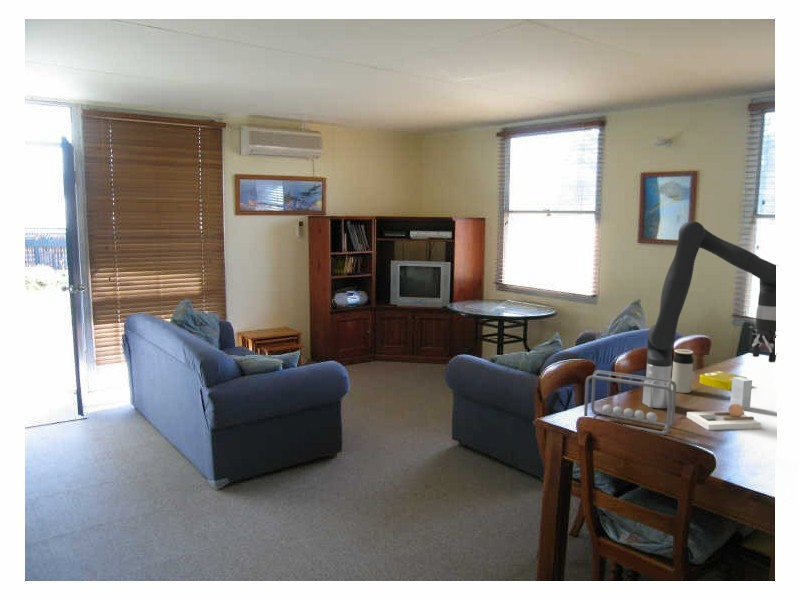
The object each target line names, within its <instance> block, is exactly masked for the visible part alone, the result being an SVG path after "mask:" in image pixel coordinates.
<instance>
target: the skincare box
mask: <svg viewBox="0 0 800 600" xmlns="http://www.w3.org/2000/svg"><path fill="white" fill-rule="evenodd" d="M743 377H744V376H743ZM743 377H733V378H732V390H730V392H731V393H730V404H729V406H730V405H732V404H739V405H740V406H742V408H743V410H744V411H746V410H750V409H751V398H752V388H753V386H752V385H753V380H752V379H749V378H747V377H746V378H747V379H746V378H743Z"/></svg>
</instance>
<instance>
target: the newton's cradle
mask: <svg viewBox="0 0 800 600" xmlns="http://www.w3.org/2000/svg"><path fill="white" fill-rule="evenodd" d="M597 374H601V375H608V377H607V376H599V375H597ZM609 376H616V377H620V378H615V377H614V378H613V377H609ZM622 377H623V378H629V380H628V379H622ZM591 379H592V381H591V382H592V383H591V384H592V385H591V403H590V404H591V406H590V409H591V412H592V413H593V416H592V417H593V418H595V417H596V415H597V413H598V414H602V415H601V416H603V415H607V416H606V417H608V416H611V417H610V418H614V417H615V418H616V419H621V420H626V421H631V422H636V423H643V424H647V425H648V424H649V425H653V426H659V427H664V428H663V430H661V431H660V430H657V429H650V428H645V427H639V426H634V425H628V424H623V423H622V424H623V425H626V426H629V427H633V428H637V429H640V430H644V431H643V432H645V431H647V432H646V433H650V432H651V434H655V435H656V434H657V435H661V436H662V435H663V436H666V435H667V434H669V432H670V431H671V429H670V428H671V427H672V426H674V423H675V413H676V401H677V400H676V398H677V397H676V396H677V392H676V384H675V382H674V381H672V379H671V380H666V379H659V378H652V377H646V375H645V376H643V375H636V374H629V373H622V372H615V371H608V370H601V369H597V370H594V372H593V373H592V375H589V376H587V377H586V379H585V389H584V390H585V392H584V407H583V408H584V412H583V413H584V414H583V417H585V416H588V408H589V407H588V406H589V389H590V385H589V384H590V380H591ZM633 379H636V380H641V381H635V380H634V381H633ZM596 380H598V381H599V380H600V381H607V383H606V384H607V387H606V388H607V389H606V391H607V392H606V393H607V395H606V396H607V397H606V398H607V399H606V403H607V404H604V405H603V406H602V409H601V410H602V412H601V411H596V410H595V398H596V397H595V395H596V382H597V381H596ZM646 380H649V381H653V382H654V381H656V382H663V383H668V384H669V383H671V384H670V385H673V390H671V387H670V388H669V387H667V386H668V384H667V385H666V386H663V385H656V384H650V383H644V381H646ZM612 382H614V383H618V384H620V385H619V389H621V385H622V384H625V385H626V384H627V385H630V387H632V386H639V387H643V386H646V387H651V407H650V411H649V412H647V413H645V412H644V411H643V410H641V407H642V406H641V405H642V404H641V403H642V401H639V403H638V404H639V409H637V410H635V411H634V410H633V409H632V408H630V405H631V401H628V405H627V406H628V407H627V408H625V409H623V408H622V406H620V403H617V406H614V407H612V405H611V404H609V403H610V401H609V399H610V397H609V393H610V389H611V387H609V383H612ZM652 387H653V393H654V388H660V389H666V390H667V391H668V392H669V395H668V407H667V408H666V409H667V410H666V411H667V412H666V423H663V422H658V421H657V420H658V416H657V413H655V412H653V401H652ZM608 388H609V389H608ZM631 395H632V391H629V397H632V396H631ZM620 398H621V393H618V399H620ZM640 398H643V391H640ZM594 413H596V414H594ZM612 413H613V414H612ZM615 418H614V419H615ZM645 418H646V419H645Z"/></svg>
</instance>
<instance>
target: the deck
mask: <svg viewBox="0 0 800 600" xmlns="http://www.w3.org/2000/svg"><path fill="white" fill-rule="evenodd" d="M686 418H687V419H689V420H690V421H693V422H694V423H696V424H697V425H699V426H701V427H702V428H704V429H706V430H707V431H716V430H717V431H719V430H720V431H722V430H723V431H724V430H743V429H744V430H745V429H752V428H753V429H760V428H761V422H759V421H757V420H756V419H754V416H748V415H746V414H745V412H743V415H742V416H740V417H733V416H731V415H730V414H729V411H728V410H713V411H711V410H709V411H687V412H686Z"/></svg>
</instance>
